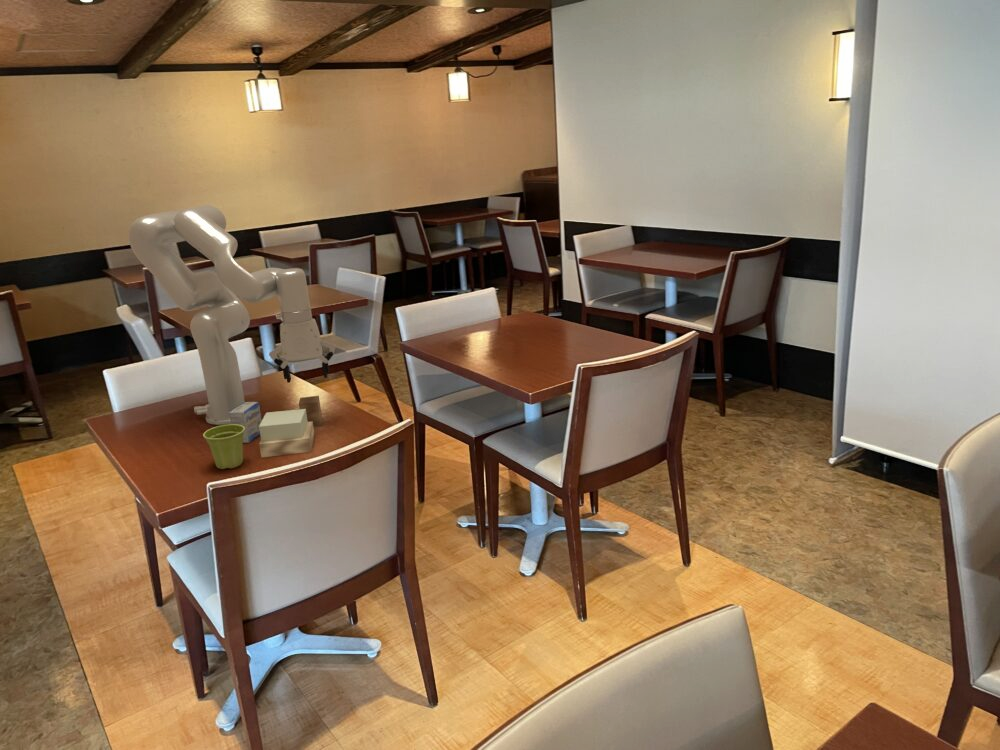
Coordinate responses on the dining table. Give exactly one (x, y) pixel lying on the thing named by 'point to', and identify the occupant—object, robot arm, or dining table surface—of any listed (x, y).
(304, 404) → the walnut block
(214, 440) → the plant pot
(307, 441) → the tower base block
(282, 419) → the tower top block
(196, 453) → the dining table surface
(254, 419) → the medicine box
